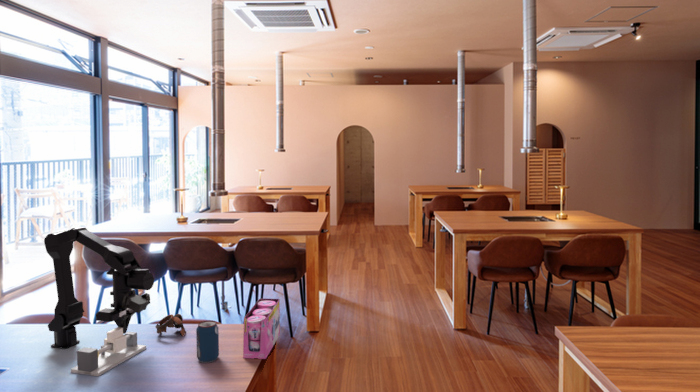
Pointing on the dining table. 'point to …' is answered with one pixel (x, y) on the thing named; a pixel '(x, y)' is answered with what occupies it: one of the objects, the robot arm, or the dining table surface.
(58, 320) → the robot arm
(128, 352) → the slider rail board
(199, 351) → the soda can
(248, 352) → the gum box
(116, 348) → the white slider block
